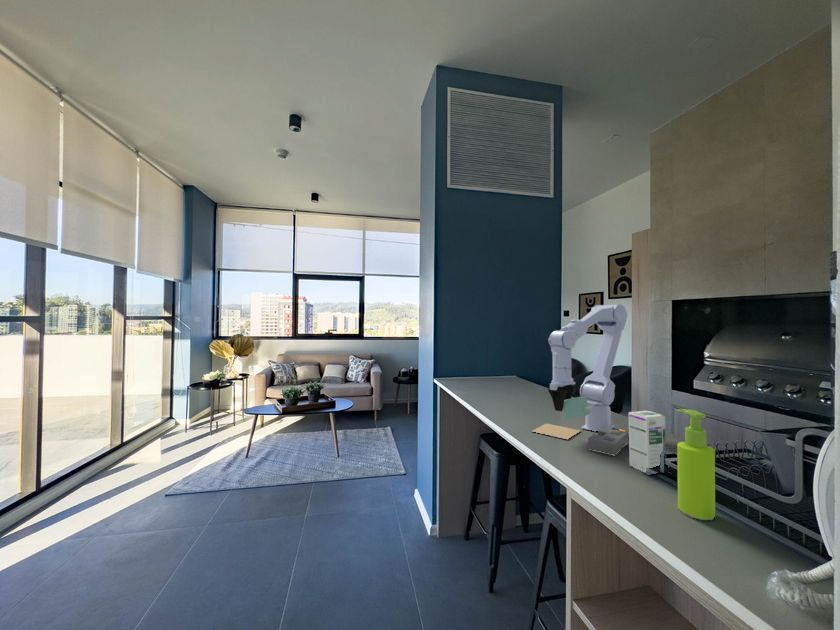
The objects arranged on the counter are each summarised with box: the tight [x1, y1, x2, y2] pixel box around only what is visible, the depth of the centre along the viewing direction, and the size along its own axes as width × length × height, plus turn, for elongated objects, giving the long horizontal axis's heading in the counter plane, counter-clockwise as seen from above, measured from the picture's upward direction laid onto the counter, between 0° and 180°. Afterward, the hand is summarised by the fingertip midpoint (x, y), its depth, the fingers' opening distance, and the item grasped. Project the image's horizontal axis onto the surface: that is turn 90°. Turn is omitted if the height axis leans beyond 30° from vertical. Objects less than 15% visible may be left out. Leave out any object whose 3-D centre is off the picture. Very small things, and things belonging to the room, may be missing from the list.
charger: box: [562, 396, 595, 420], centre depth 112 cm, size 5×8×6 cm, turn 46°
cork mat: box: [531, 422, 581, 440], centre depth 120 cm, size 12×12×1 cm
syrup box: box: [628, 410, 667, 472], centre depth 90 cm, size 6×6×14 cm
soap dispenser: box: [676, 408, 716, 519], centre depth 71 cm, size 6×7×20 cm
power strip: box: [587, 428, 629, 455], centre depth 106 cm, size 14×7×4 cm, turn 137°
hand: (562, 409), depth 116 cm, fingers closed on charger, 5 cm apart
